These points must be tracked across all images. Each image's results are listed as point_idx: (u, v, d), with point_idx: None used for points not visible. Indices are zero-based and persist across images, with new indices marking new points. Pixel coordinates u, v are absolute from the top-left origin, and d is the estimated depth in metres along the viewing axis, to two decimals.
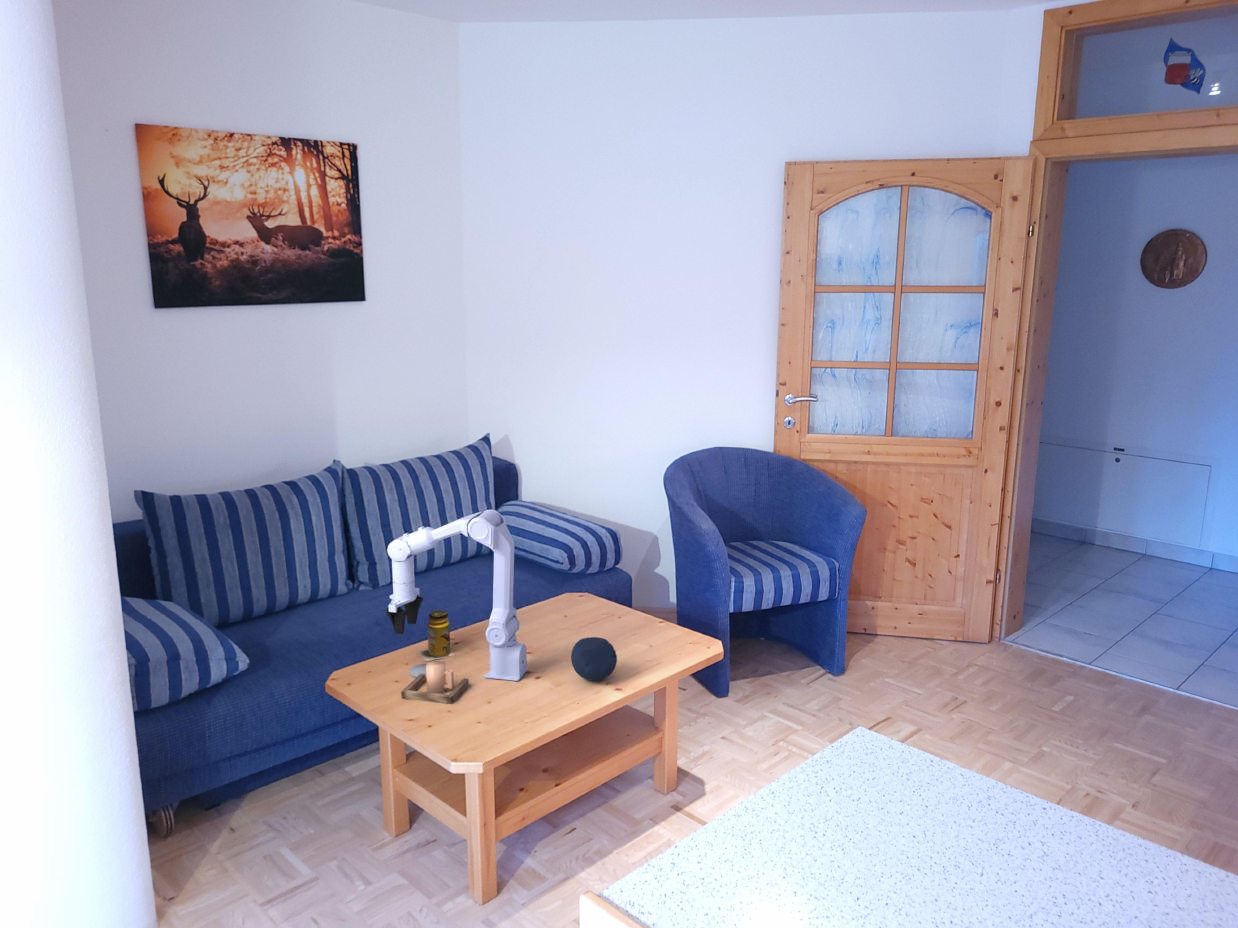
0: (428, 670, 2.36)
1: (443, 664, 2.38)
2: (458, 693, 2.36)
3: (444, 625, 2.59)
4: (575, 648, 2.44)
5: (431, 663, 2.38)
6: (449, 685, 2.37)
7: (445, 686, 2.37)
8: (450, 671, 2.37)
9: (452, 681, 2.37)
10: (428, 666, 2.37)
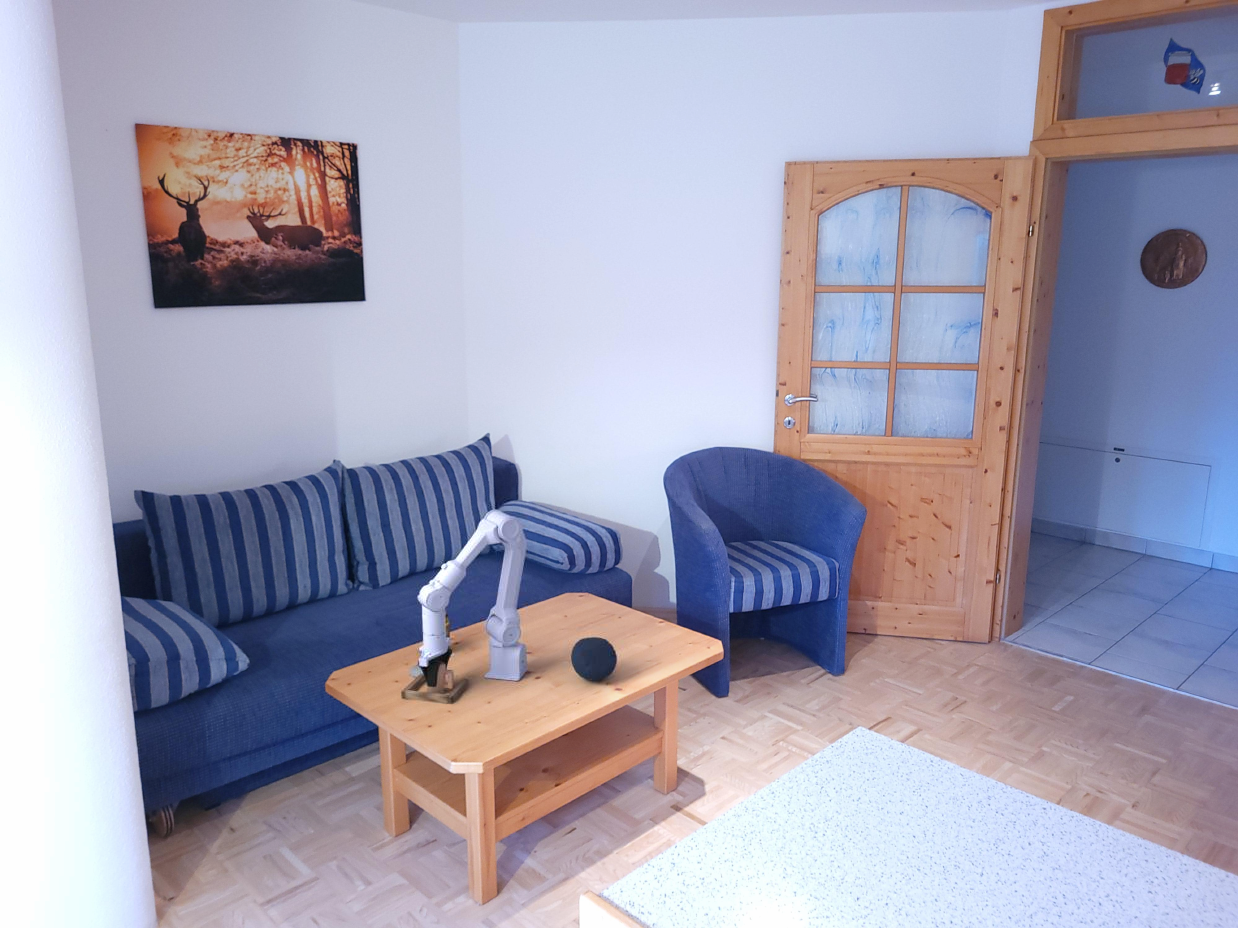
0: None
1: (443, 664, 2.38)
2: (458, 693, 2.36)
3: None
4: (575, 648, 2.44)
5: None
6: (449, 685, 2.37)
7: (445, 686, 2.37)
8: (450, 671, 2.37)
9: (452, 681, 2.37)
10: None
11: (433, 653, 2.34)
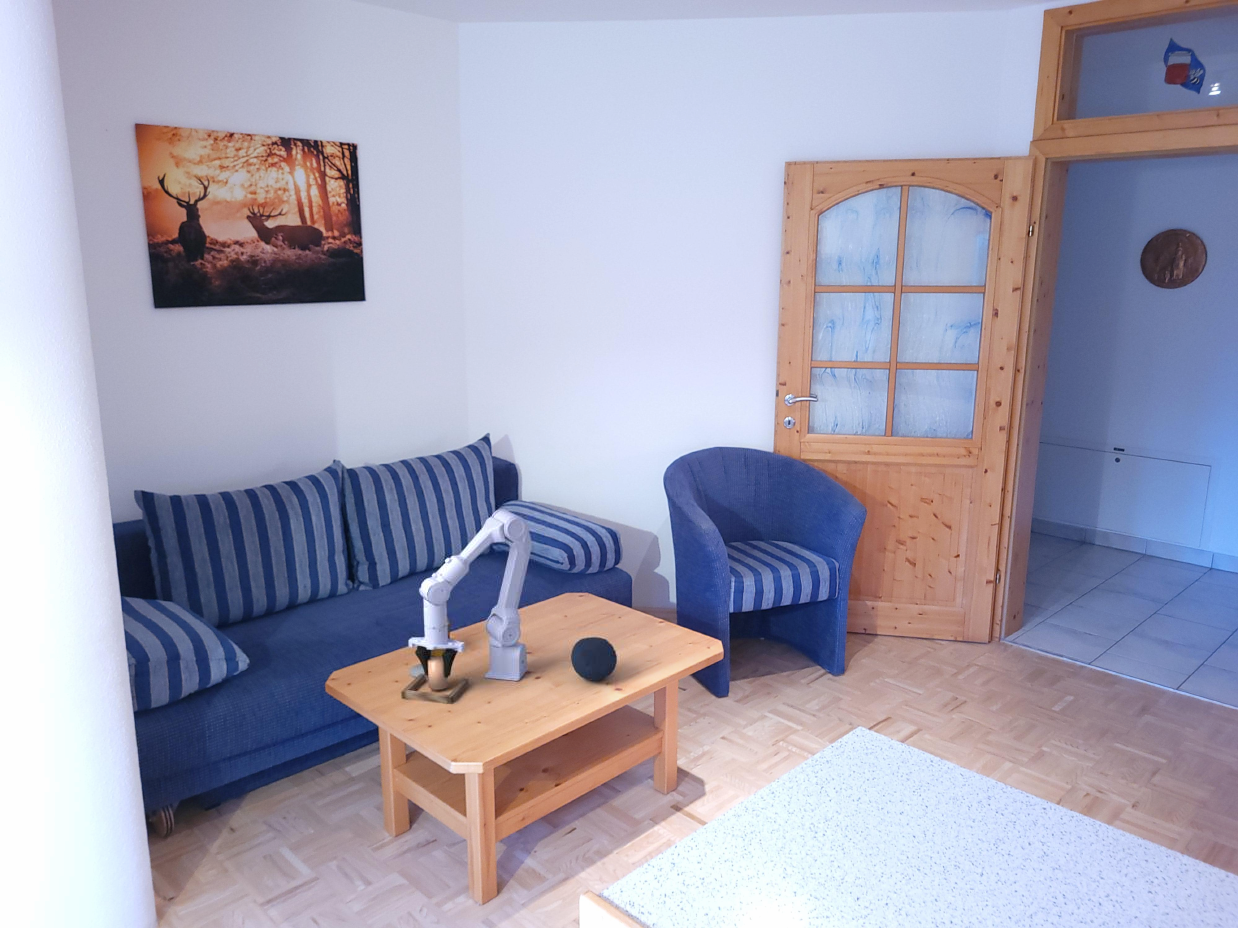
0: (443, 664, 2.37)
1: (437, 656, 2.40)
2: (458, 693, 2.36)
3: None
4: (575, 648, 2.44)
5: (432, 661, 2.37)
6: None
7: None
8: None
9: None
10: (439, 662, 2.36)
11: (448, 641, 2.37)
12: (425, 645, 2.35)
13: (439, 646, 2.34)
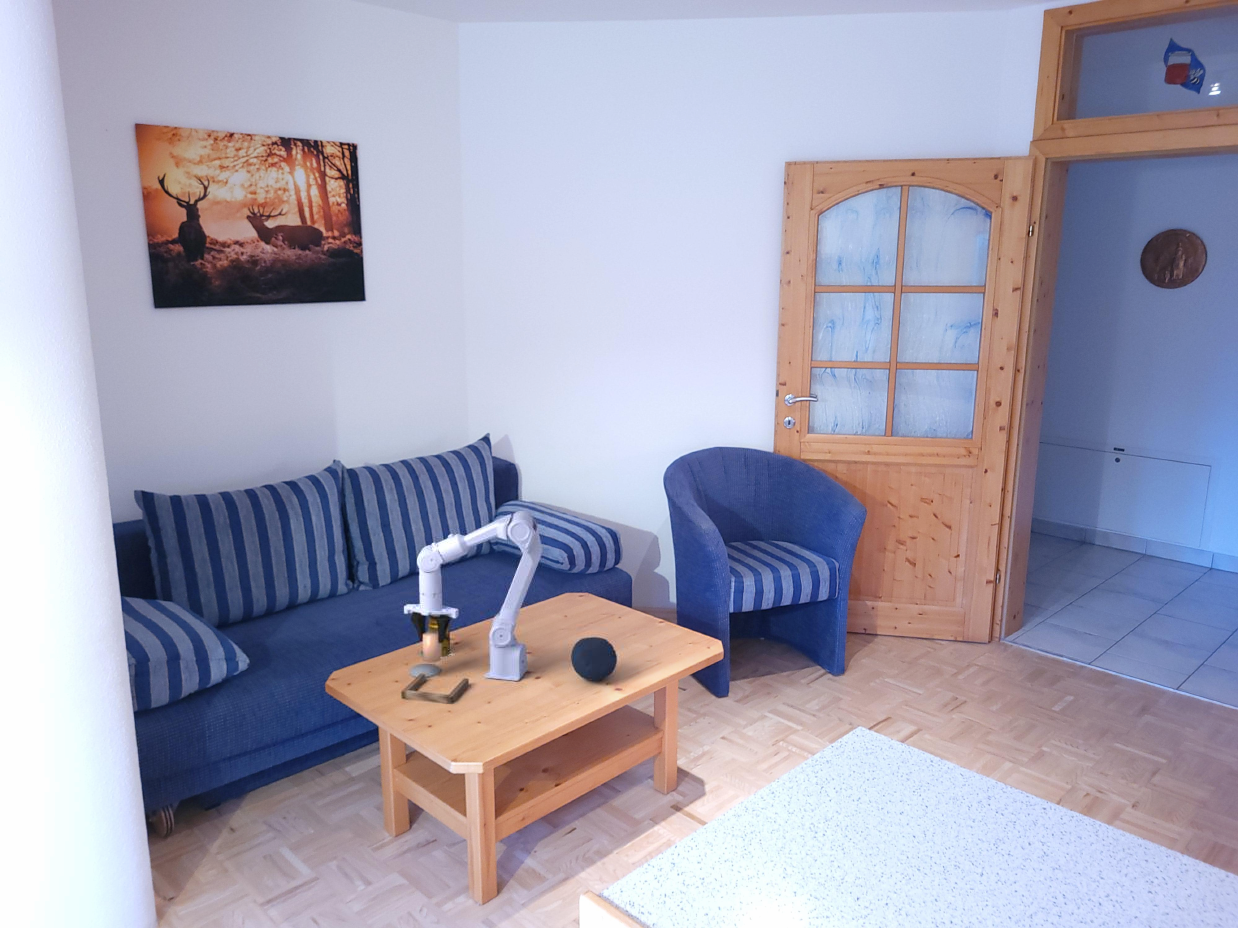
0: None
1: (431, 631, 2.48)
2: (458, 693, 2.36)
3: None
4: (575, 648, 2.44)
5: (427, 635, 2.45)
6: (440, 647, 2.51)
7: None
8: None
9: None
10: (433, 635, 2.45)
11: (442, 608, 2.45)
12: (420, 611, 2.43)
13: (434, 612, 2.42)
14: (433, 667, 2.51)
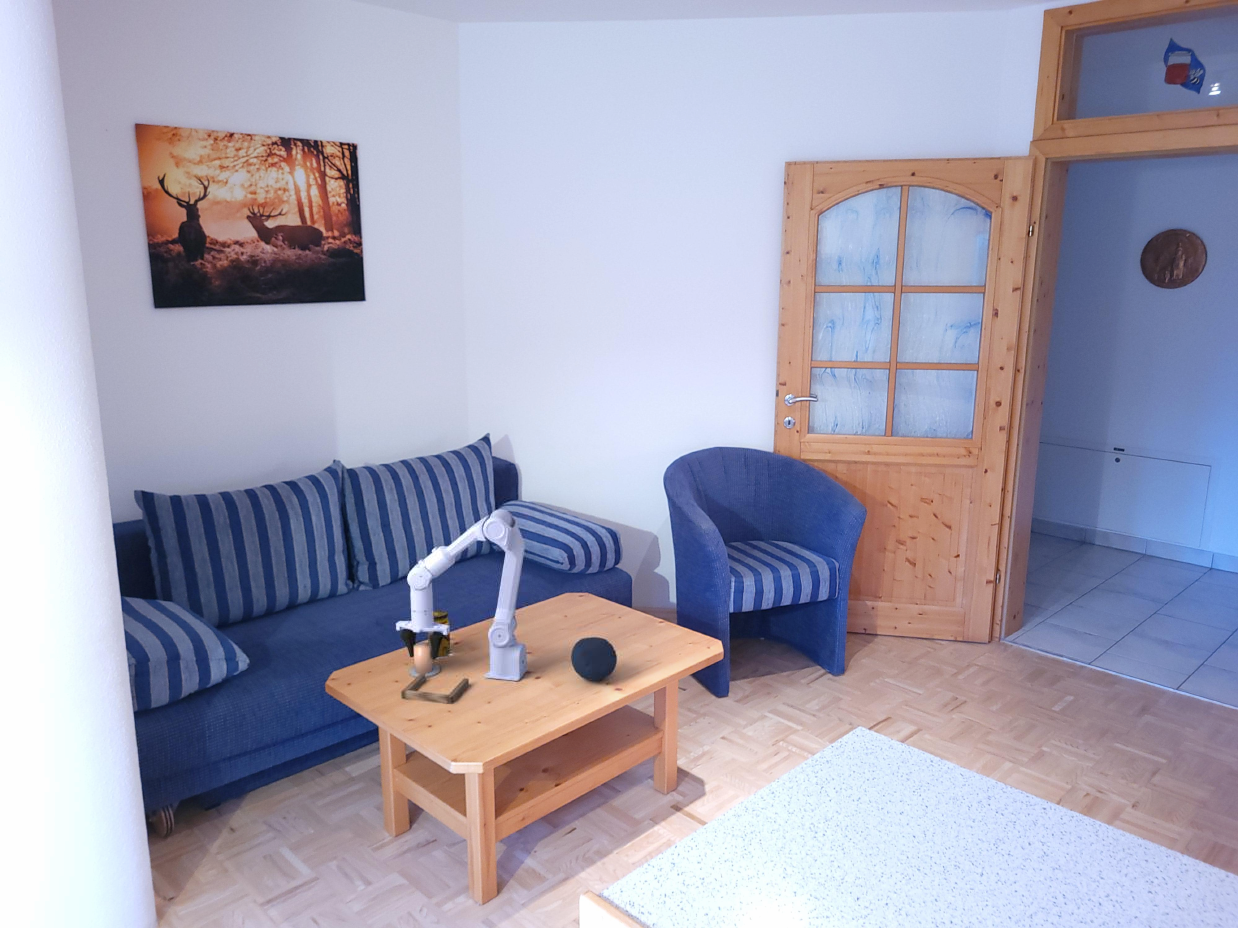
0: (428, 650, 2.47)
1: (422, 642, 2.50)
2: (458, 693, 2.36)
3: None
4: (575, 648, 2.44)
5: (418, 647, 2.47)
6: None
7: None
8: None
9: None
10: (424, 648, 2.47)
11: (434, 625, 2.48)
12: (412, 628, 2.46)
13: (425, 629, 2.45)
14: (433, 667, 2.51)
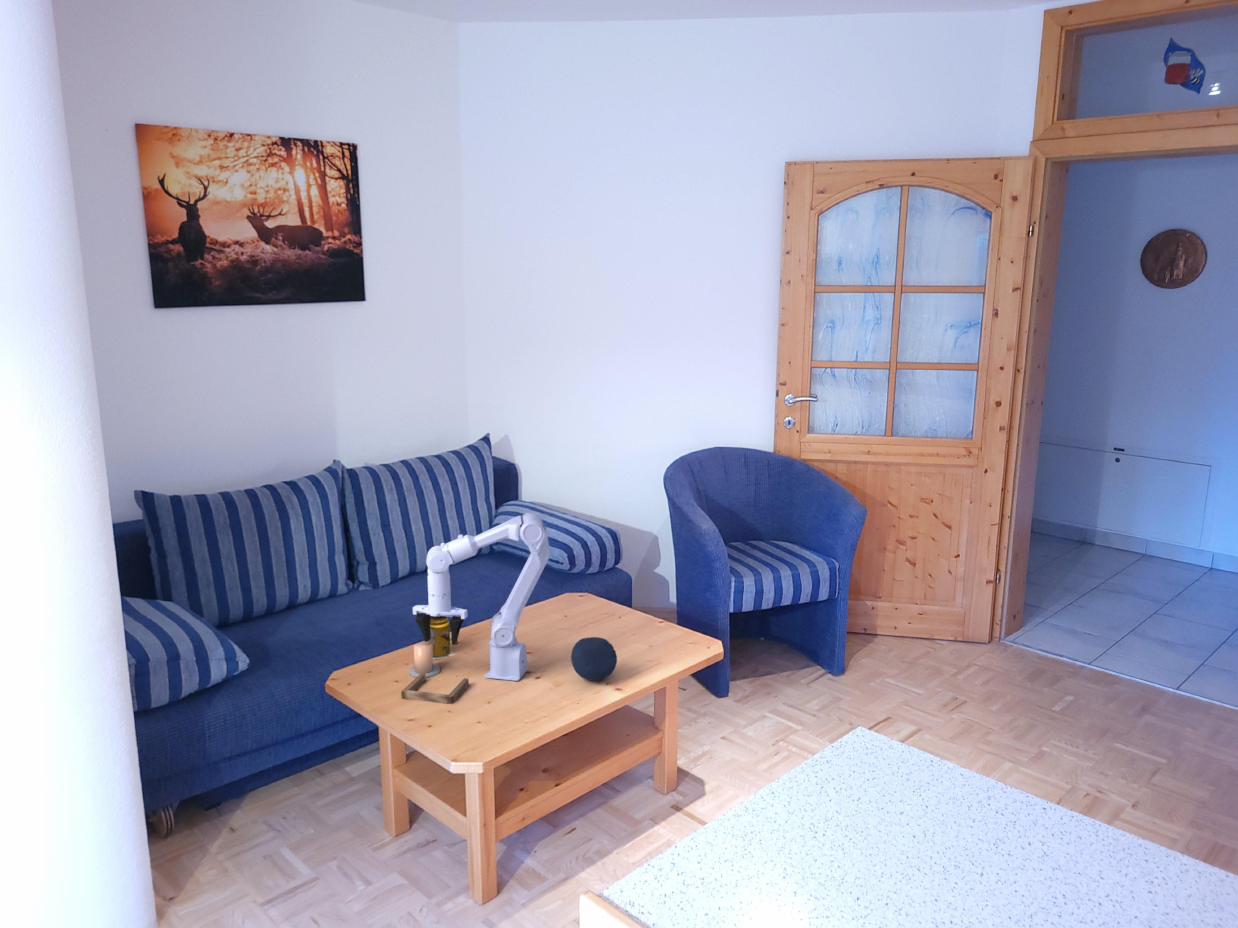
0: (428, 650, 2.47)
1: (422, 642, 2.50)
2: (458, 693, 2.36)
3: (444, 625, 2.59)
4: (575, 648, 2.44)
5: (418, 647, 2.47)
6: (432, 657, 2.53)
7: None
8: None
9: None
10: (424, 648, 2.47)
11: (451, 609, 2.43)
12: (429, 612, 2.41)
13: (442, 613, 2.40)
14: (433, 667, 2.51)
